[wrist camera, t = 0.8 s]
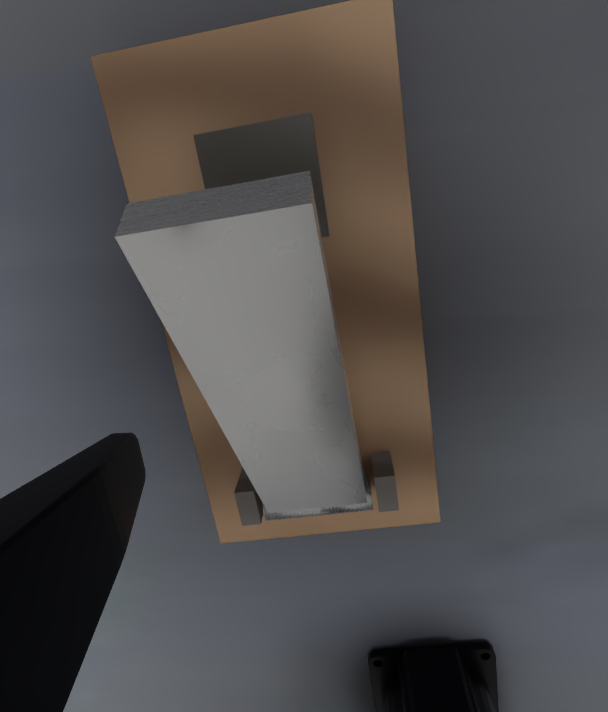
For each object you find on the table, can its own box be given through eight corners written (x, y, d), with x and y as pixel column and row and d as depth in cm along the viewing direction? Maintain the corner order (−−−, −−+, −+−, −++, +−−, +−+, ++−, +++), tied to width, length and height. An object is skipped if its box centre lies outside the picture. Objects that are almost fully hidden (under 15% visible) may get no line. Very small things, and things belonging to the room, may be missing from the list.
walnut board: (434, 501, 23) (449, 550, 20) (227, 522, 25) (211, 572, 21) (387, 6, 17) (398, -31, 14) (109, 65, 18) (62, 43, 15)
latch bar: (370, 484, 21) (374, 515, 21) (269, 494, 22) (269, 526, 21) (318, 166, 10) (322, 204, 10) (118, 202, 11) (104, 241, 10)
